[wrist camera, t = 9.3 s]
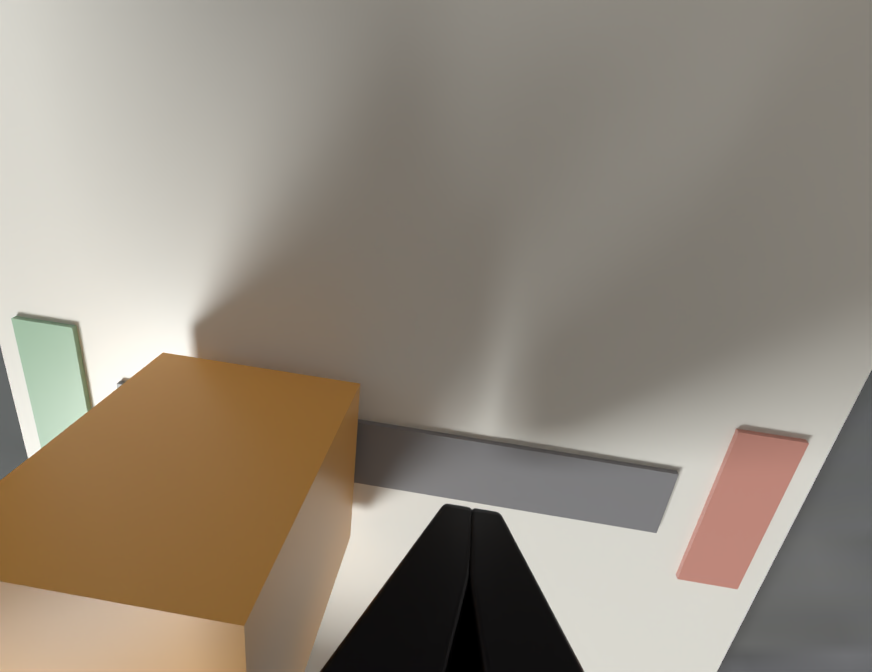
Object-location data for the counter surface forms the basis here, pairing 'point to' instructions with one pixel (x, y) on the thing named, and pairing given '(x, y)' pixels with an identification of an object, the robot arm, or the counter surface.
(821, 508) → the counter surface
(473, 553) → the robot arm
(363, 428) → the breaker panel
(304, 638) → the orange matte cube
